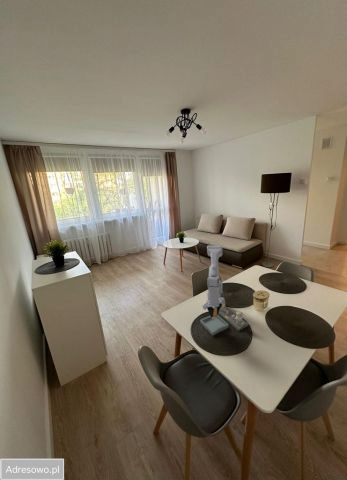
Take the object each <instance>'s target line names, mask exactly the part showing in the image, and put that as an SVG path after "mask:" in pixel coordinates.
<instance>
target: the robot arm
mask: <svg viewBox="0 0 347 480" xmlns="http://www.w3.org/2000/svg"><path fill="white" fill-rule="evenodd" d="M206 253H207V256H208V257H210V263H211V264H210V265H209V267H208V277H207V282H206V283H207V294H206V296H207V300H206V303H204V304H202V309H203V310H207V311H208V314H209V316H211V317H213V311H214V309H213V308H212V307H213V306H216V307H217V315H218V316H219V314H218V313H219V310H220V308H221V307H222V304H221V302H222V301H223V302H224V300H225V297H222V296H221V295H222V293H223V281H222V280H220V274H219V273H220V271H219V270H220V268H219V258H220V257H222V256H223V246H222V245H210V244H209V245H207V246H206Z"/></svg>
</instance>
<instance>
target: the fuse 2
mask: <svg viewBox="0 0 347 480" xmlns="http://www.w3.org/2000/svg"><path fill="white" fill-rule="evenodd" d="M235 312H236V313H235V314H236V323H237V324H238V325H241V323H242V319H243V312H242V311H239V310H237V311H235Z"/></svg>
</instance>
